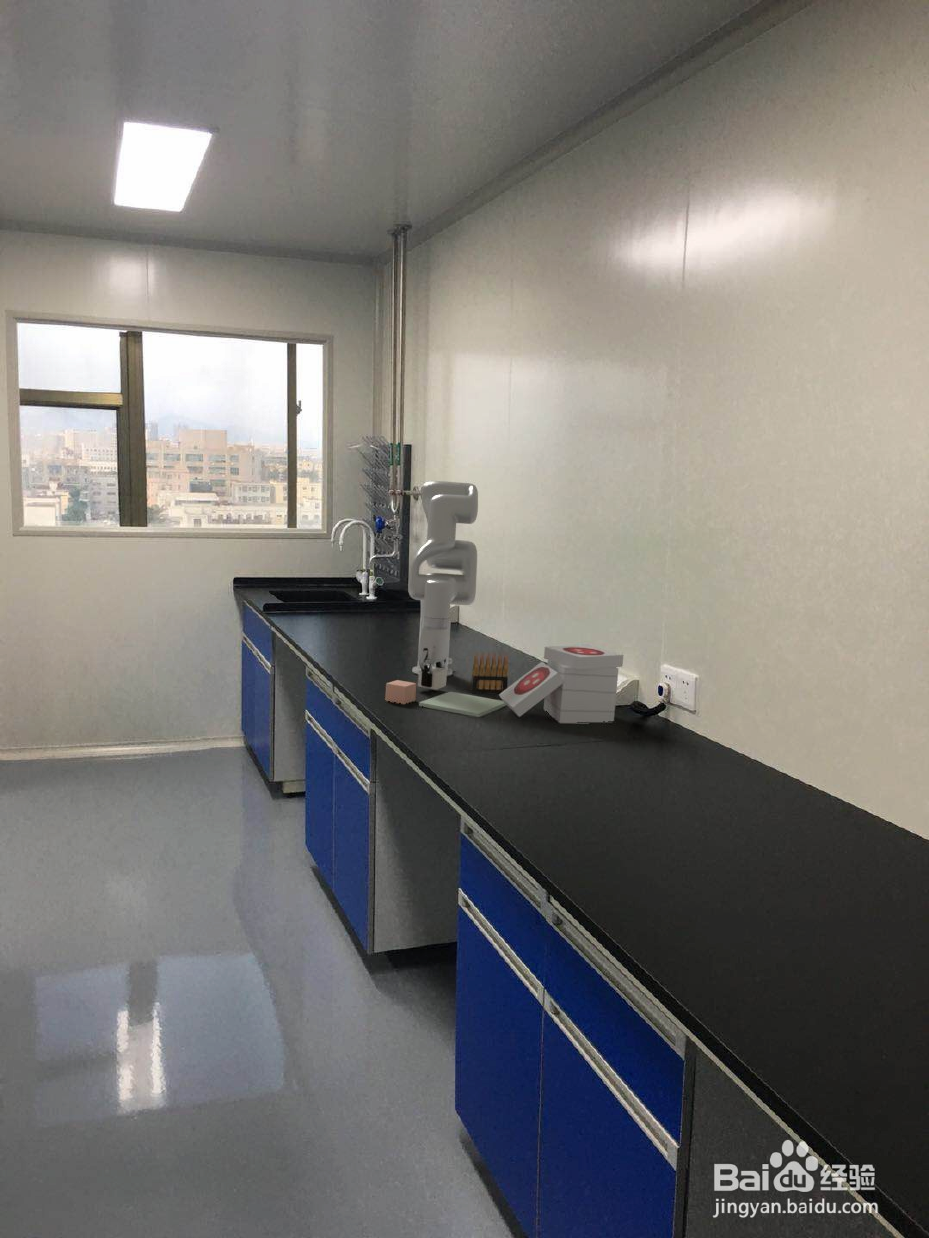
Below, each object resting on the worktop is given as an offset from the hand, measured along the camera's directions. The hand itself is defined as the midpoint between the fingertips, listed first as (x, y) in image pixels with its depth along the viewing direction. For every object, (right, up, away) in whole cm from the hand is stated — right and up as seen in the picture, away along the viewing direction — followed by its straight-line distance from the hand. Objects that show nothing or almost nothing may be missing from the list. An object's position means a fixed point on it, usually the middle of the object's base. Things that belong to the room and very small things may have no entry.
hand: (432, 683), depth 284 cm
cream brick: (0, -1, 0) cm, 1 cm away
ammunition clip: (+16, -3, +3) cm, 17 cm away
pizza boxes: (+35, -8, -20) cm, 41 cm away
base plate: (+9, -5, -15) cm, 18 cm away
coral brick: (-8, -4, -14) cm, 17 cm away
